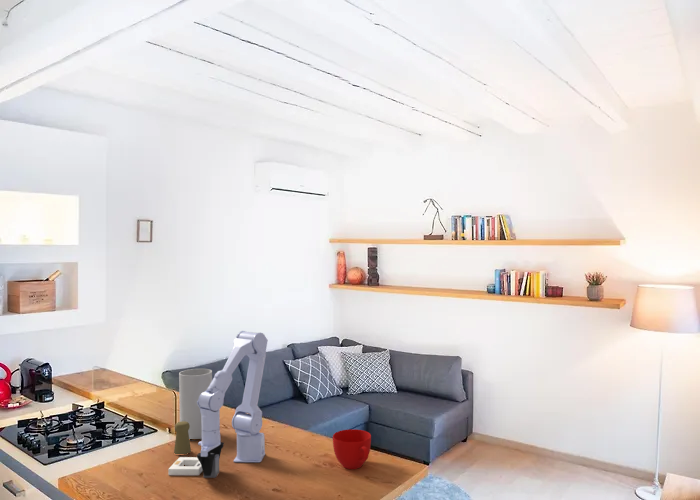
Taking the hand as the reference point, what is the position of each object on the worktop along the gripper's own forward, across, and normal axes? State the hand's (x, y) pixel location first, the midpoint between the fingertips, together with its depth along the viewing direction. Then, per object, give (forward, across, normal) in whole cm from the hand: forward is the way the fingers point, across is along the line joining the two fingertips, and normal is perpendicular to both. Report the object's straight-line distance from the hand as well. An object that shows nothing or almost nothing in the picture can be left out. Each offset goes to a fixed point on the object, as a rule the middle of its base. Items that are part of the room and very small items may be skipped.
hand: (211, 470), depth 175 cm
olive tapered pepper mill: (+2, -19, -16) cm, 25 cm away
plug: (+2, 0, 0) cm, 2 cm away
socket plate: (+1, -4, -9) cm, 10 cm away
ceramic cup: (+2, -7, +46) cm, 47 cm away
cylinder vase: (+2, -37, -18) cm, 41 cm away
